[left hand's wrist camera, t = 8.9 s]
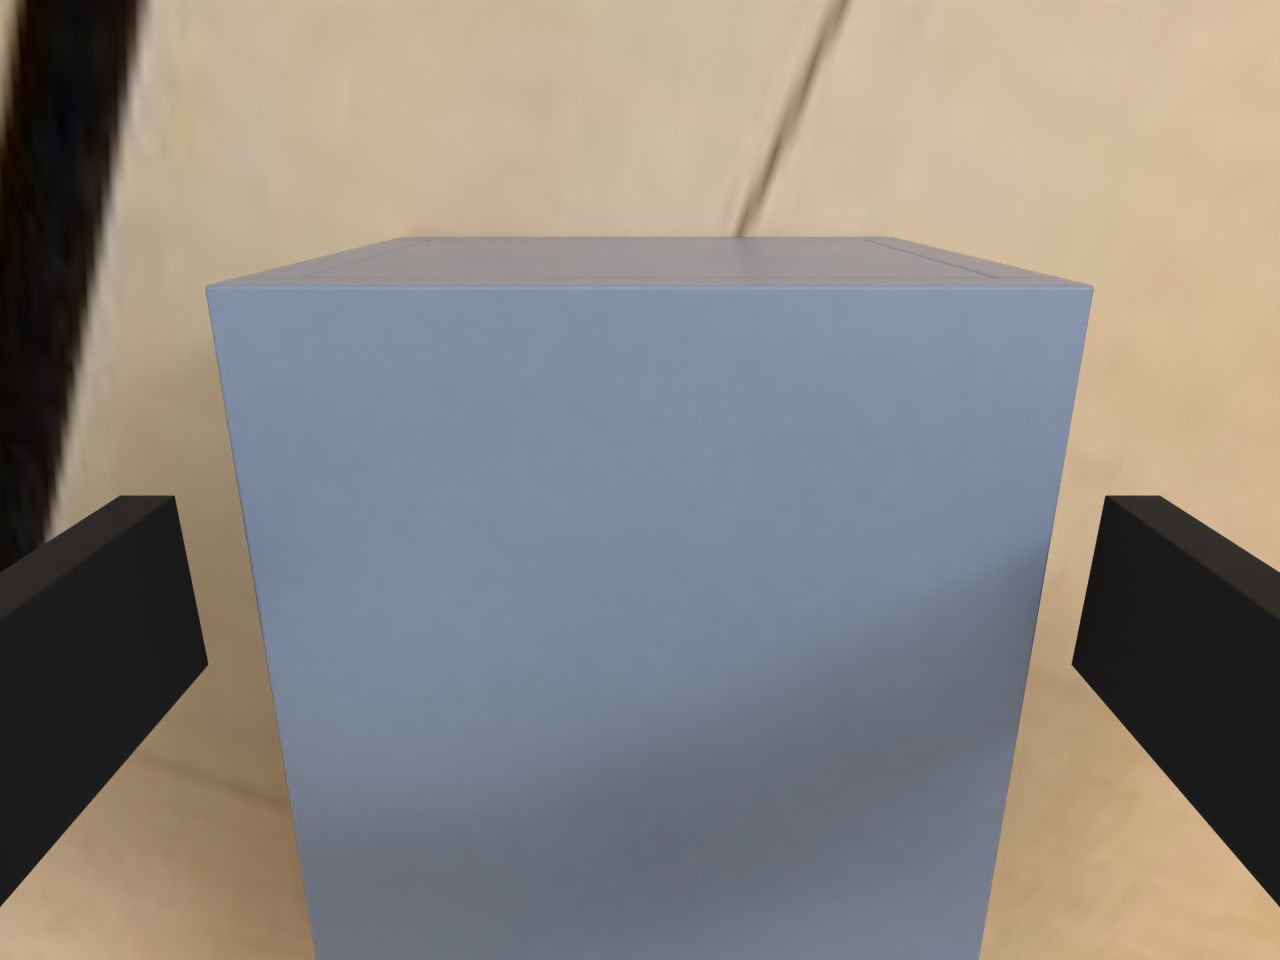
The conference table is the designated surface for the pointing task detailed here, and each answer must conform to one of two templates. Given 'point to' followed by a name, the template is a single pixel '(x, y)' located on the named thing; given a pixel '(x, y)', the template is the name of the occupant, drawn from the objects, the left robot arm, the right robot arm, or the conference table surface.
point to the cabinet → (648, 585)
